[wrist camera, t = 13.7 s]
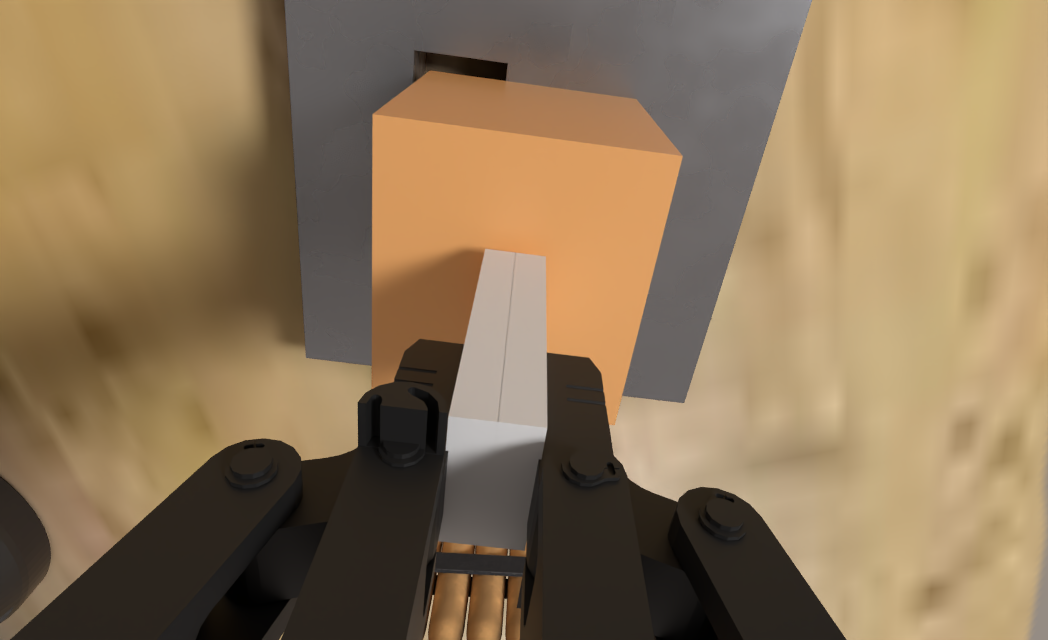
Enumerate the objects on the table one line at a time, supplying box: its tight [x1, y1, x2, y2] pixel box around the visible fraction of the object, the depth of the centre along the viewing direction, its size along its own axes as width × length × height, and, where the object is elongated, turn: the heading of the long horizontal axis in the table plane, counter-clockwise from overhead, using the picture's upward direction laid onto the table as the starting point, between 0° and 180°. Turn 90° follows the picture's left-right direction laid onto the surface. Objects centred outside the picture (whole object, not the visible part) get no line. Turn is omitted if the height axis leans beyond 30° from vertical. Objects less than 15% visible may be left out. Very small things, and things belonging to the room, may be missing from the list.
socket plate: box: [284, 0, 812, 403], centre depth 24 cm, size 17×17×2 cm
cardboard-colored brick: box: [372, 71, 683, 425], centre depth 20 cm, size 7×8×10 cm
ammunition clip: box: [422, 541, 527, 640], centre depth 29 cm, size 11×2×12 cm, turn 88°
